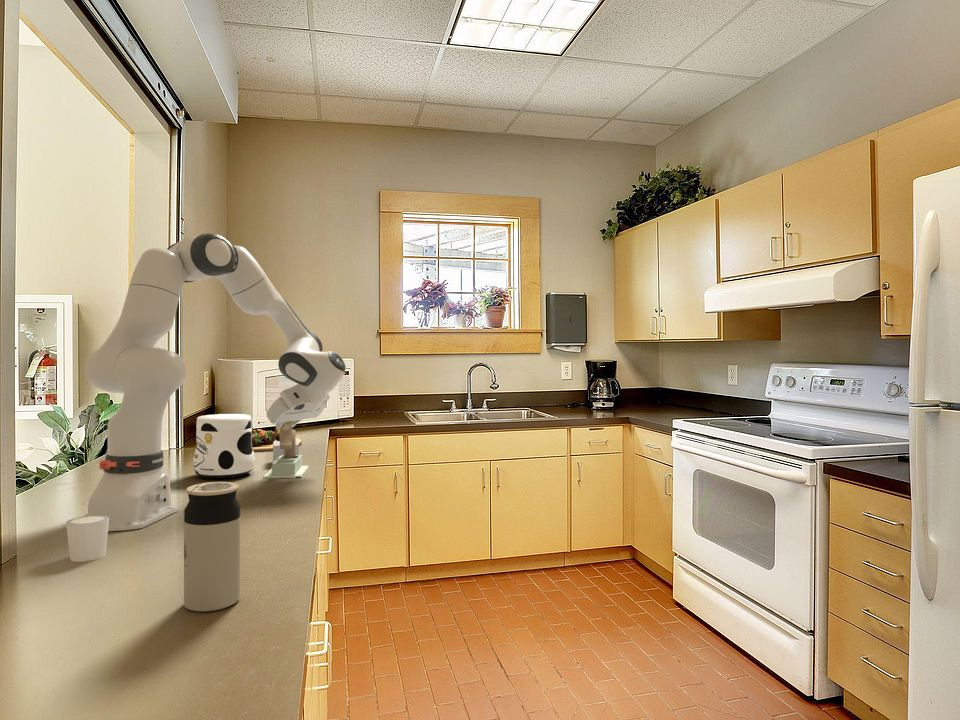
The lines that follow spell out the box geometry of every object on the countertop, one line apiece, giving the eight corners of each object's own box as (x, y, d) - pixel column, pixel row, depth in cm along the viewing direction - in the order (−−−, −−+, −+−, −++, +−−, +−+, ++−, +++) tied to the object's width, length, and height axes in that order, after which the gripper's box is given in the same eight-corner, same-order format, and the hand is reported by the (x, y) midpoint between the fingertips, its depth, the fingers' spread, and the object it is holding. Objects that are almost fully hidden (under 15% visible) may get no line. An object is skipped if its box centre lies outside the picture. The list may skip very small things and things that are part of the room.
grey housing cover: (298, 466, 206) (298, 444, 206) (273, 467, 203) (273, 445, 203) (297, 460, 215) (298, 440, 215) (273, 461, 213) (273, 441, 213)
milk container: (179, 479, 184) (179, 418, 184) (221, 468, 201) (221, 412, 200) (227, 483, 179) (227, 421, 178) (266, 472, 195) (266, 415, 195)
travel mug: (247, 592, 101) (247, 481, 100) (228, 613, 93) (229, 492, 92) (197, 592, 100) (197, 481, 100) (174, 613, 92) (174, 492, 92)
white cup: (101, 548, 121) (101, 512, 121) (115, 556, 117) (115, 518, 117) (60, 557, 116) (60, 519, 116) (73, 565, 112) (73, 526, 112)
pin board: (301, 477, 188) (301, 436, 187) (263, 478, 186) (263, 436, 186) (308, 467, 204) (309, 429, 203) (273, 467, 202) (274, 429, 202)
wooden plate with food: (203, 445, 248) (203, 424, 247) (280, 437, 269) (280, 418, 269) (234, 458, 224) (235, 435, 224) (315, 448, 246) (316, 427, 245)
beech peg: (290, 449, 190) (290, 409, 190) (278, 449, 190) (278, 409, 189) (292, 447, 194) (292, 408, 194) (280, 447, 193) (280, 408, 193)
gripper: (326, 386, 197) (302, 415, 202) (277, 390, 179) (253, 422, 184) (337, 401, 195) (313, 430, 200) (289, 407, 177) (264, 438, 182)
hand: (284, 426), depth 192 cm, fingers closed on beech peg, 4 cm apart
